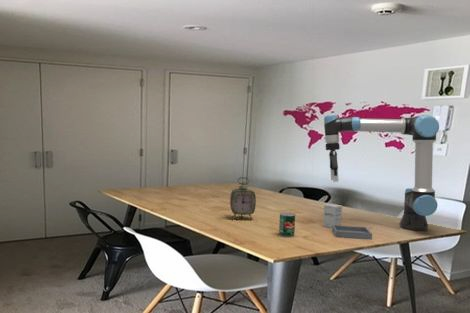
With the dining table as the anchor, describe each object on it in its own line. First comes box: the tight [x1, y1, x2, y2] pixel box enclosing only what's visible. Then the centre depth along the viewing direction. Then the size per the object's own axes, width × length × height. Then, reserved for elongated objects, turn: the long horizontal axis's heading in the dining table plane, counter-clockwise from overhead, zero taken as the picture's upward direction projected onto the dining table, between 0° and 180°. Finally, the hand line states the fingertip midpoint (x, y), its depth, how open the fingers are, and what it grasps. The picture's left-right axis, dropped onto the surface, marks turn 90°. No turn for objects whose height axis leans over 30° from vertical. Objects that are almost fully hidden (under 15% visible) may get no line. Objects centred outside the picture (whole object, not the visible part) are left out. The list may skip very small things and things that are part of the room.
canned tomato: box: [278, 212, 296, 238], centre depth 209 cm, size 8×8×11 cm
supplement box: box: [323, 203, 343, 229], centre depth 232 cm, size 7×7×13 cm
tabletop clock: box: [229, 176, 257, 221], centre depth 244 cm, size 14×9×25 cm, turn 95°
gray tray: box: [331, 225, 373, 240], centre depth 216 cm, size 18×14×3 cm
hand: (334, 180), depth 229 cm, fingers open, 13 cm apart
